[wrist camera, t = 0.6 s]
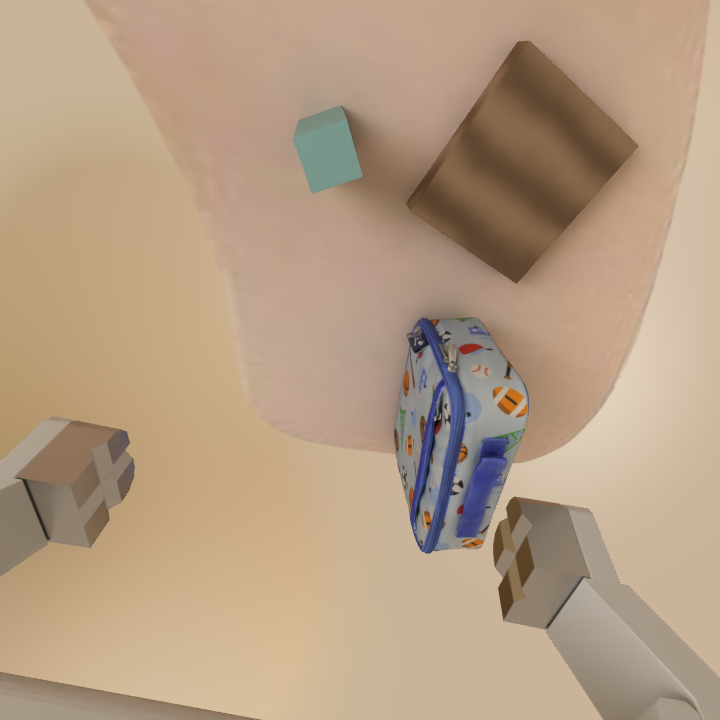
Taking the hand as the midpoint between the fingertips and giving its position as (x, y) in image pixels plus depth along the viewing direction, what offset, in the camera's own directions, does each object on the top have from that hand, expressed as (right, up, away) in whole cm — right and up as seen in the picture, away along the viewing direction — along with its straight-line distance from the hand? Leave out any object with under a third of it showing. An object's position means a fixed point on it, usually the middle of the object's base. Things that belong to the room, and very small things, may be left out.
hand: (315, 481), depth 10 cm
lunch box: (+11, 0, +56) cm, 57 cm away
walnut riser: (+18, +23, +41) cm, 50 cm away
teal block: (-2, +26, +38) cm, 46 cm away
